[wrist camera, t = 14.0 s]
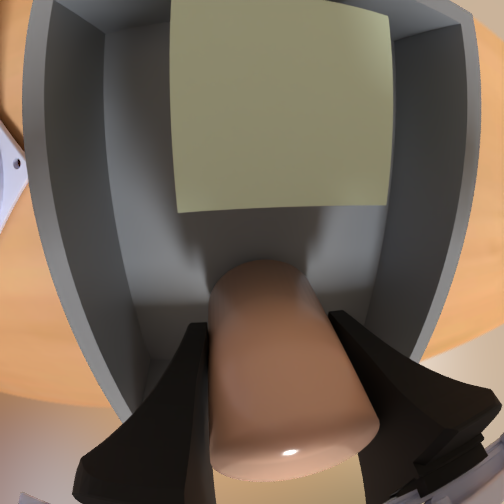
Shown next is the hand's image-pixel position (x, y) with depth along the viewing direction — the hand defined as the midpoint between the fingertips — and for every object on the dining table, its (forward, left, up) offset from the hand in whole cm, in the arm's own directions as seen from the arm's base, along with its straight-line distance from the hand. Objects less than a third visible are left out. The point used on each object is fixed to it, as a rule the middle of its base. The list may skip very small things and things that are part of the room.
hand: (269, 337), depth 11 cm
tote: (-3, +3, -3) cm, 5 cm away
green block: (-6, +5, -3) cm, 9 cm away
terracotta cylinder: (0, 0, -2) cm, 2 cm away
